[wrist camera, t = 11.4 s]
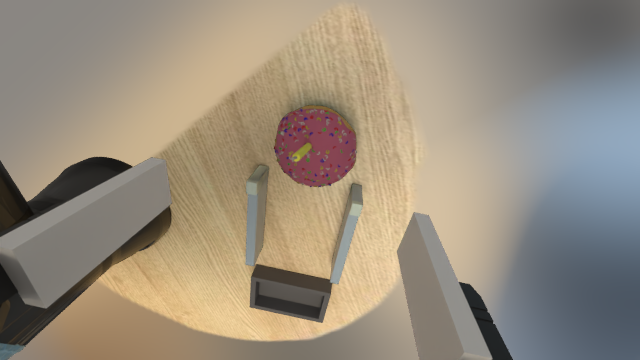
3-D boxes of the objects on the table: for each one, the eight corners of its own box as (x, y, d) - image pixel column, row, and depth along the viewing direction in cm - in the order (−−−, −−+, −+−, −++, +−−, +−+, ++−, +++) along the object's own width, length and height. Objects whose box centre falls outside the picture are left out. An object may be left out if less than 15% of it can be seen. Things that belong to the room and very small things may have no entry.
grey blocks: (255, 245, 39) (244, 267, 35) (259, 164, 32) (246, 181, 28) (339, 262, 38) (338, 287, 34) (361, 185, 32) (362, 205, 28)
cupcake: (273, 112, 29) (227, 148, 18) (343, 86, 27) (338, 110, 16) (301, 175, 32) (276, 237, 22) (365, 157, 30) (372, 215, 19)
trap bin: (254, 294, 44) (249, 307, 42) (256, 264, 41) (251, 276, 39) (323, 309, 44) (322, 322, 42) (331, 280, 40) (330, 293, 38)
